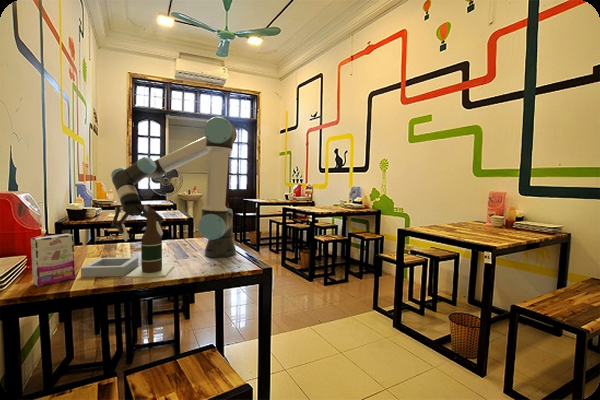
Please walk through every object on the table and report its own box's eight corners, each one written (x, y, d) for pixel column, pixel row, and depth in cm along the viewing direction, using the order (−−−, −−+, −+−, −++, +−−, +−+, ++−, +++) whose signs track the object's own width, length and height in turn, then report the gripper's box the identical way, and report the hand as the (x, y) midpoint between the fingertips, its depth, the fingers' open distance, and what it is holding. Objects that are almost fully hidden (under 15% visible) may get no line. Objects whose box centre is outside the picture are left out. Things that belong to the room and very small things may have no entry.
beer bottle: (147, 274, 119) (146, 212, 117) (137, 270, 124) (136, 210, 122) (166, 270, 125) (165, 210, 124) (156, 266, 130) (155, 209, 128)
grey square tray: (138, 265, 133) (138, 257, 133) (124, 275, 119) (124, 266, 118) (100, 266, 131) (100, 257, 131) (81, 277, 116) (80, 267, 116)
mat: (174, 266, 132) (174, 265, 132) (165, 276, 119) (165, 275, 118) (139, 267, 130) (139, 266, 130) (125, 277, 116) (125, 276, 116)
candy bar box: (69, 276, 117) (68, 233, 116) (75, 278, 114) (74, 234, 113) (31, 284, 107) (30, 237, 106) (37, 287, 105) (35, 239, 104)
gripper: (155, 202, 147) (170, 238, 138) (94, 204, 128) (108, 246, 119) (160, 191, 143) (177, 228, 134) (98, 192, 124) (113, 235, 115)
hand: (144, 237), depth 127 cm, fingers open, 13 cm apart
